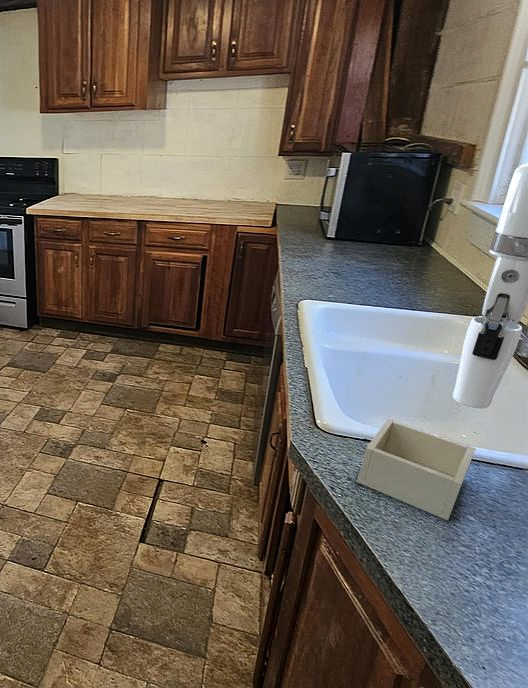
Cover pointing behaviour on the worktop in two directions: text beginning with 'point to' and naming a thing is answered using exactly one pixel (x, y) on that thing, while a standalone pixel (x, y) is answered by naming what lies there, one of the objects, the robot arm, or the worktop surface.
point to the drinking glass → (483, 366)
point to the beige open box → (416, 467)
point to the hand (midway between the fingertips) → (487, 349)
